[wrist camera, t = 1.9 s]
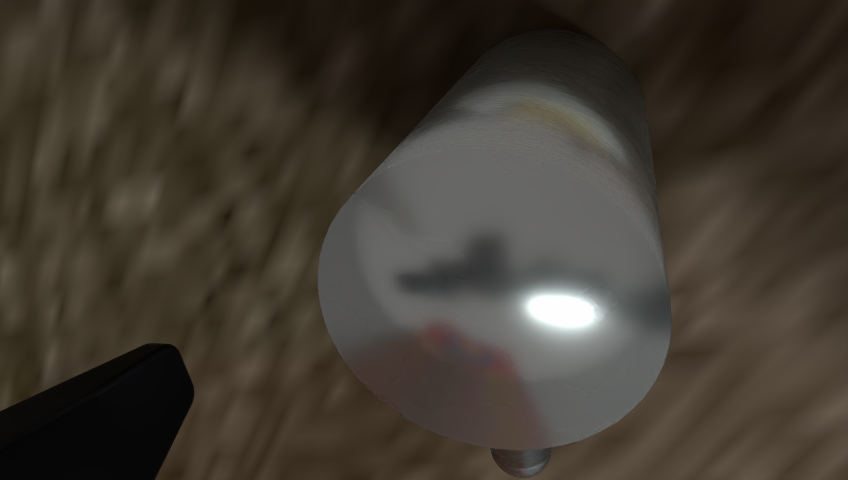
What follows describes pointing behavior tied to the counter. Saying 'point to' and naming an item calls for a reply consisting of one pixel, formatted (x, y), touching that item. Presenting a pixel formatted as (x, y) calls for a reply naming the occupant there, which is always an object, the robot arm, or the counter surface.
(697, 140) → the counter surface
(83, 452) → the robot arm
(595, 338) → the spout can
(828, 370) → the counter surface
